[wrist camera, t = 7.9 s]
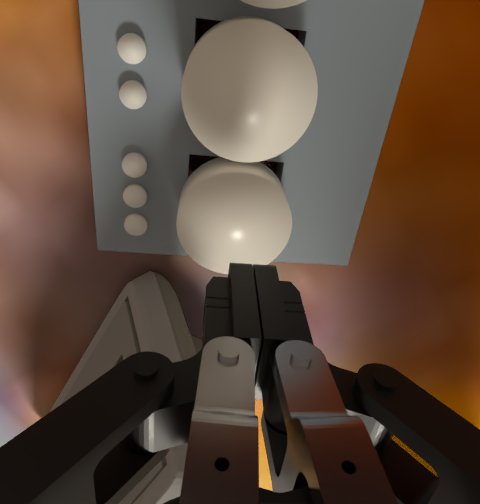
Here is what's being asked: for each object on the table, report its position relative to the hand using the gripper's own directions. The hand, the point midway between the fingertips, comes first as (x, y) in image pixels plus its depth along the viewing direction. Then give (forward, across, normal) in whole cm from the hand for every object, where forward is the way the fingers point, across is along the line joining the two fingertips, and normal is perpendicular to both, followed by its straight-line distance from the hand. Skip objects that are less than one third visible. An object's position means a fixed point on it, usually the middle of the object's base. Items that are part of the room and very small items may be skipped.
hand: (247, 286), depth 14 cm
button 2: (+7, 0, -5) cm, 9 cm away
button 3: (+7, 0, 0) cm, 7 cm away
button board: (+7, 0, -5) cm, 9 cm away
